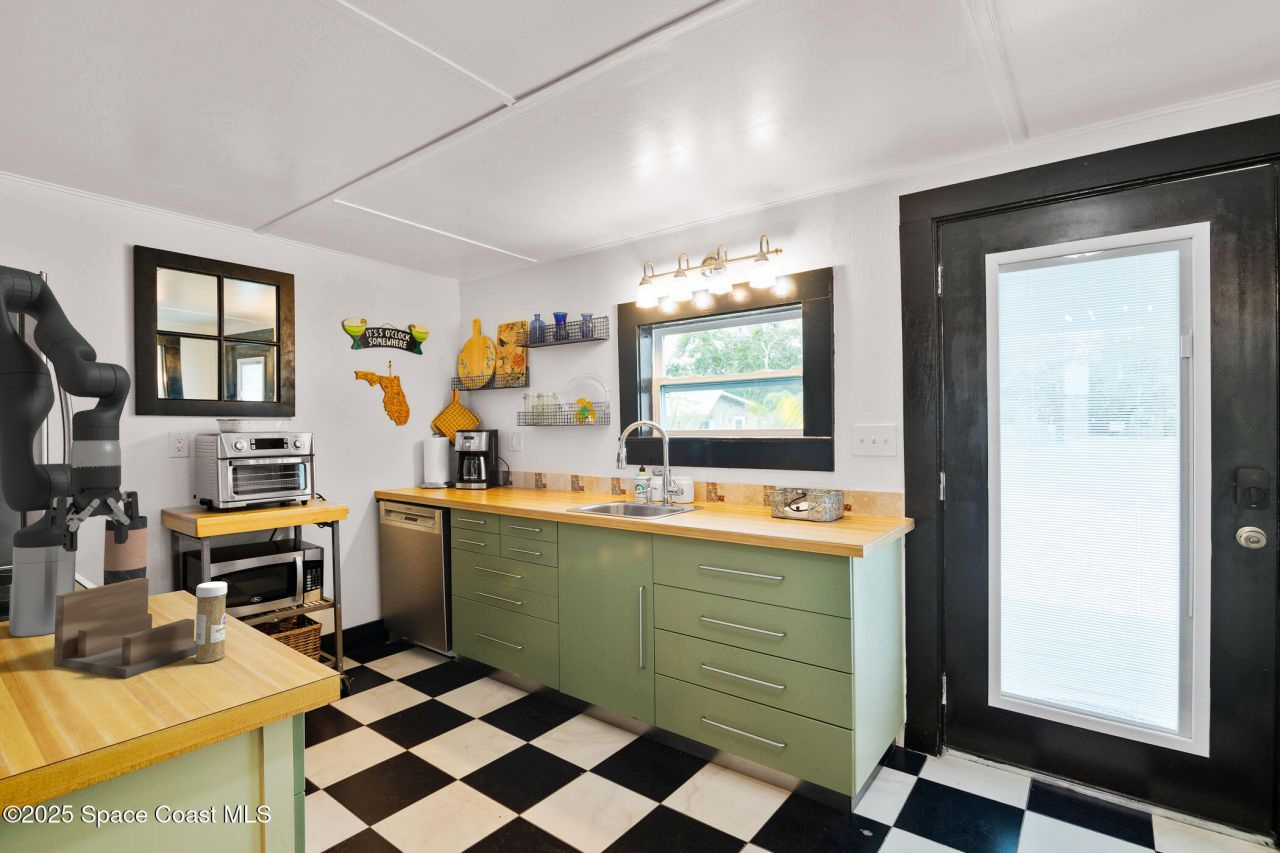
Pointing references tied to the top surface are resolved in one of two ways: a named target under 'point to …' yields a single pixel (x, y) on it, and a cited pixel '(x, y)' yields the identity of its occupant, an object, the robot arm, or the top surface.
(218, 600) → the sprinkles bottle
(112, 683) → the top surface
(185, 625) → the wooden tiered slot stand
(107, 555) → the travel mug
